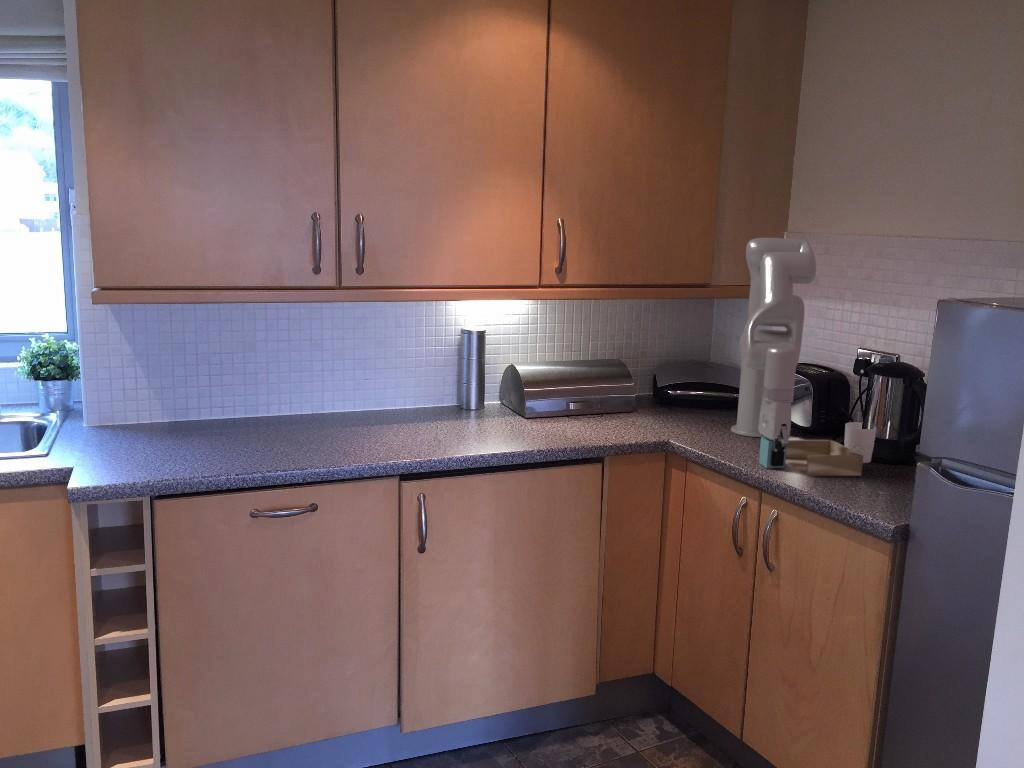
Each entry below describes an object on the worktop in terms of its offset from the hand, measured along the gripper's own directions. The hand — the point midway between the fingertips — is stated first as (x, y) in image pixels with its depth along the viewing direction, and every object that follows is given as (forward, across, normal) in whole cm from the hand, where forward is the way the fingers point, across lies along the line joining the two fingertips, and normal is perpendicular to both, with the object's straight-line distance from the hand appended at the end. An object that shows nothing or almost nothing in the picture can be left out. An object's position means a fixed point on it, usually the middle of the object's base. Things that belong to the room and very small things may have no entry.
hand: (772, 461), depth 228 cm
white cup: (+2, -6, +27) cm, 28 cm away
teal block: (+1, 0, 0) cm, 1 cm away
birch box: (+2, 0, +13) cm, 13 cm away
